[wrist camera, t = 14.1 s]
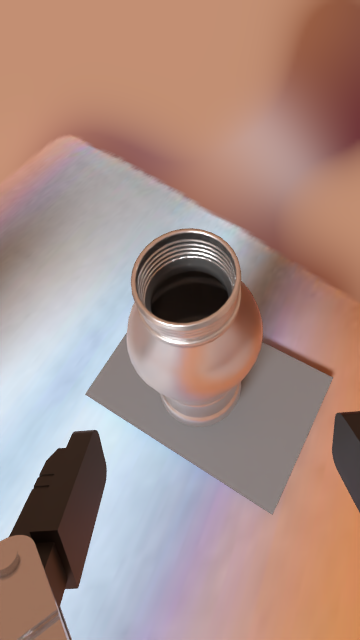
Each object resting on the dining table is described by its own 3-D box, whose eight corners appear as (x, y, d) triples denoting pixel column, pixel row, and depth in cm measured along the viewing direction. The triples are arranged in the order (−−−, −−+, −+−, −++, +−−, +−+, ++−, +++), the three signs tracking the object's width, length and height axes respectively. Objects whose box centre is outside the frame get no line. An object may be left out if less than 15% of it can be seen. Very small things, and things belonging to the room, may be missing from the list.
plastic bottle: (149, 405, 29) (44, 318, 11) (187, 339, 31) (154, 170, 13) (215, 444, 28) (226, 421, 9) (252, 373, 30) (321, 234, 11)
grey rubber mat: (88, 395, 31) (85, 394, 30) (157, 292, 34) (156, 288, 33) (270, 513, 26) (272, 514, 25) (330, 379, 30) (333, 377, 29)
